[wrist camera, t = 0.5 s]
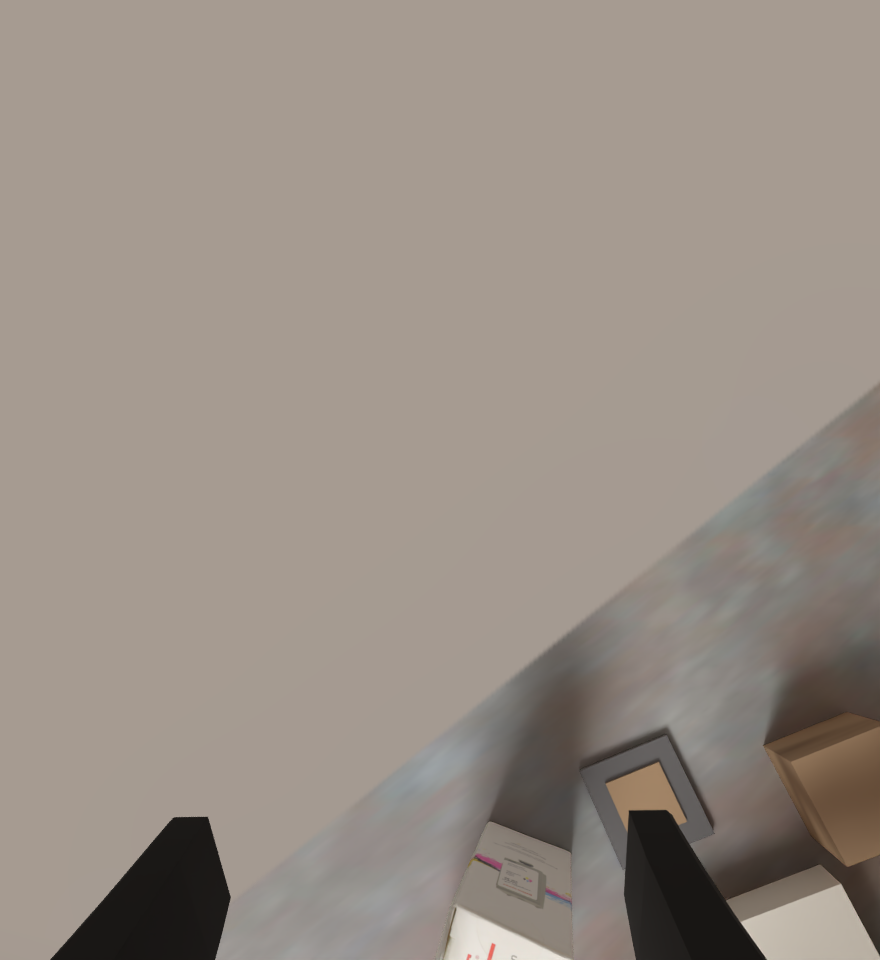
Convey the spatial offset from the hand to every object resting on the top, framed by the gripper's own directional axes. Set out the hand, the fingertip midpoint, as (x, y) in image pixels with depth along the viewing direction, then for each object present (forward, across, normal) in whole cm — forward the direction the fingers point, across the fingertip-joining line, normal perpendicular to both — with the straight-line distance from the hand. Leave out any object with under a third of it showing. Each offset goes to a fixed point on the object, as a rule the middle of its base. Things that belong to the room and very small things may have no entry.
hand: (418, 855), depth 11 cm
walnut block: (+17, -18, +17) cm, 30 cm away
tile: (+17, -9, +19) cm, 27 cm away
